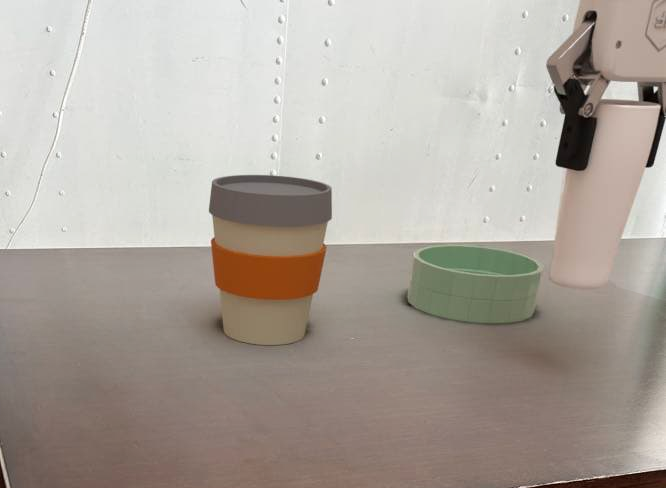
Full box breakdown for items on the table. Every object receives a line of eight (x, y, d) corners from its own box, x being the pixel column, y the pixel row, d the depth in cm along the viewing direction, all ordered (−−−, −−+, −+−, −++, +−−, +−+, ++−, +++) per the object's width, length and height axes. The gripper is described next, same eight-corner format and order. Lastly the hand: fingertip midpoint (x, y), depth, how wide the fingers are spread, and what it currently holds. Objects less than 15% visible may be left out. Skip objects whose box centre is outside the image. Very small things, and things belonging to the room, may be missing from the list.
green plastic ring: (520, 297, 107) (530, 249, 104) (542, 333, 94) (555, 280, 91) (404, 288, 108) (410, 241, 104) (410, 323, 95) (418, 270, 92)
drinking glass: (585, 298, 72) (631, 107, 64) (524, 279, 77) (559, 99, 69) (629, 287, 76) (679, 104, 68) (568, 270, 80) (607, 97, 72)
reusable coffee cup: (246, 358, 82) (253, 199, 74) (186, 322, 91) (186, 177, 83) (344, 340, 88) (360, 192, 80) (278, 309, 97) (287, 172, 89)
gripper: (614, -107, 55) (555, 177, 65) (787, -87, 62) (710, 170, 71) (539, -96, 61) (495, 163, 71) (705, -79, 67) (644, 157, 77)
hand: (604, 165), depth 71 cm, fingers closed on drinking glass, 6 cm apart
